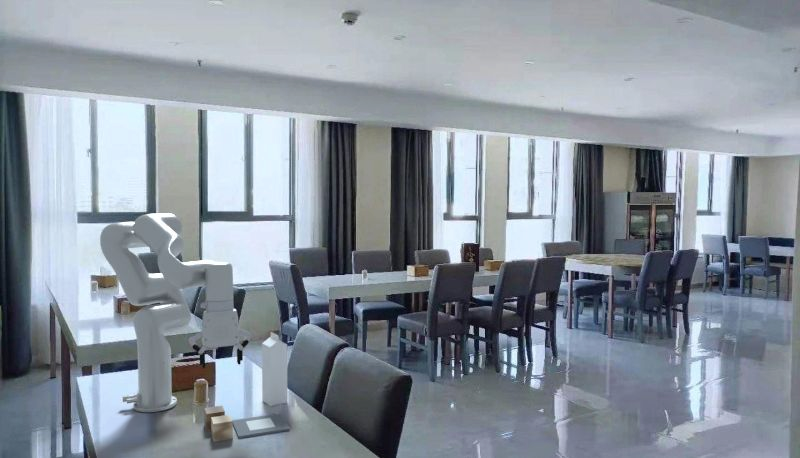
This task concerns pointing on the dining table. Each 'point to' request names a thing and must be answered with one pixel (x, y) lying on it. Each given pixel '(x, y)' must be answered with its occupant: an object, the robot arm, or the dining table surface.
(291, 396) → the dining table surface
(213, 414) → the walnut block
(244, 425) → the mat
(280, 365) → the milk
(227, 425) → the oak block
